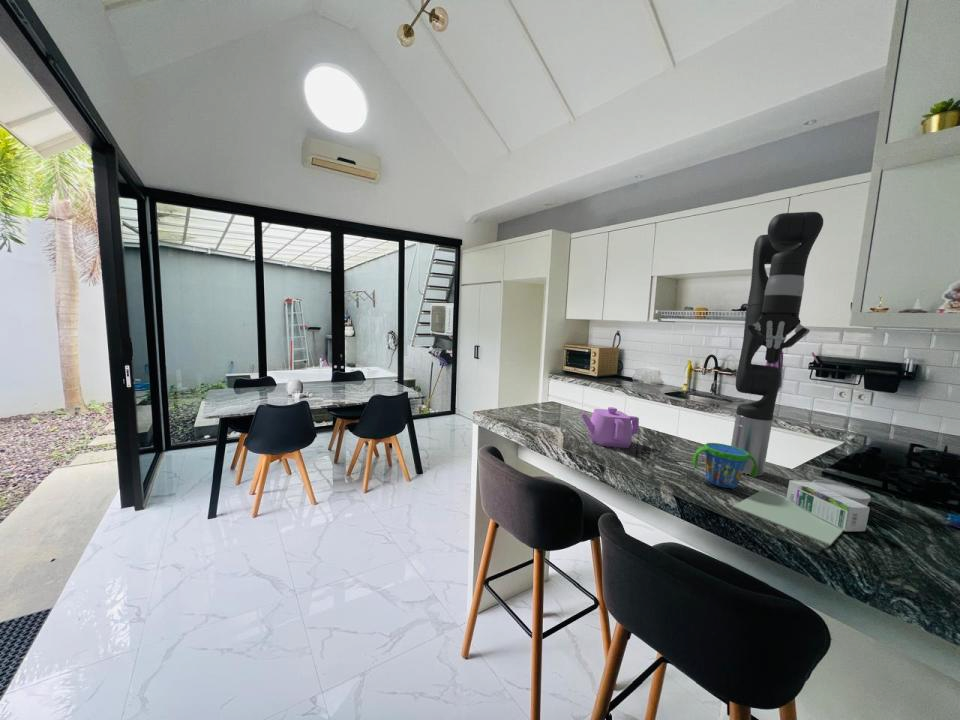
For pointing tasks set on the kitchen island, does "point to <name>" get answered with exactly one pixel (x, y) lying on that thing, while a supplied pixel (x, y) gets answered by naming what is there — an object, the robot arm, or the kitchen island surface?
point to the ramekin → (845, 491)
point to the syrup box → (828, 505)
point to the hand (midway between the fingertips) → (771, 363)
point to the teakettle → (611, 427)
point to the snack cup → (724, 464)
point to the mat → (788, 516)
